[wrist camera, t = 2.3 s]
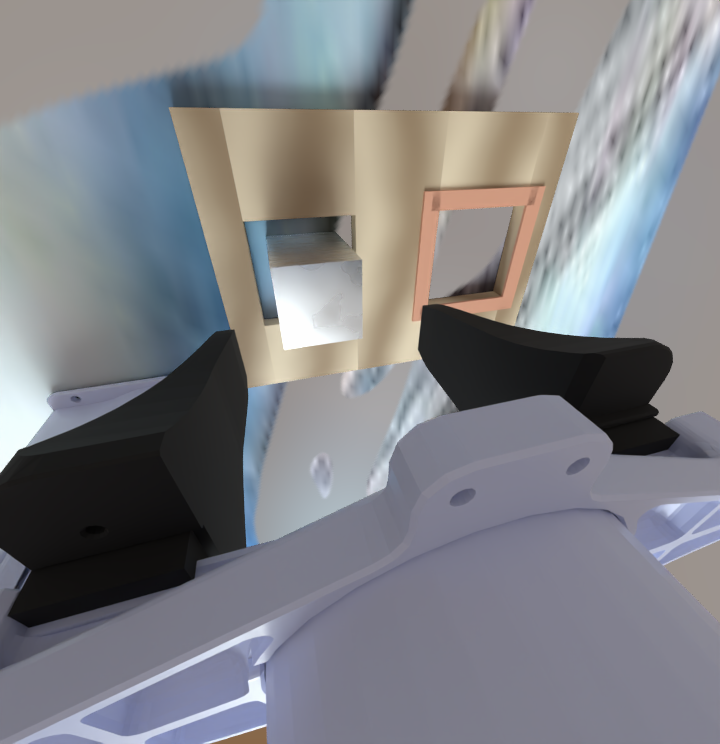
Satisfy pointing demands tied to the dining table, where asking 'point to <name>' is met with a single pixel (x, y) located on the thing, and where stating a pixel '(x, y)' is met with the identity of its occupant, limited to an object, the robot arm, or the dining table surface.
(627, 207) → the dining table surface
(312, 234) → the steel peg
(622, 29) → the dining table surface
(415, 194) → the rail
